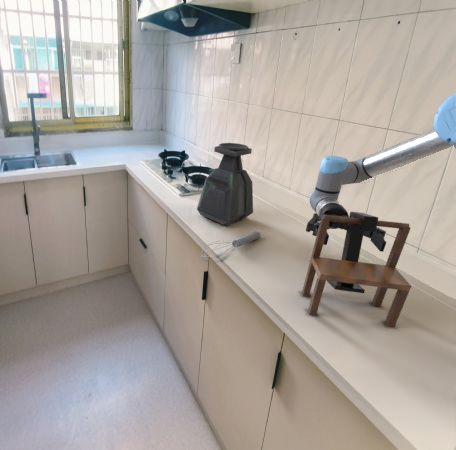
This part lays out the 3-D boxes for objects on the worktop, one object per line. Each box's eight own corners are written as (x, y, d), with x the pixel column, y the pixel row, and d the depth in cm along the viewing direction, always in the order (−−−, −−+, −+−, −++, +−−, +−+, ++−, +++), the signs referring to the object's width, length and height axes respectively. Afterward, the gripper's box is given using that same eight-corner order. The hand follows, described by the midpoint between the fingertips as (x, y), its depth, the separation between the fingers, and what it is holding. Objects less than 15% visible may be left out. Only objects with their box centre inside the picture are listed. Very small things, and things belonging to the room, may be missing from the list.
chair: (378, 303, 91) (408, 222, 81) (394, 327, 82) (430, 240, 72) (301, 292, 94) (322, 213, 84) (309, 314, 85) (333, 229, 75)
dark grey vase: (226, 229, 131) (236, 152, 118) (195, 216, 142) (201, 144, 130) (252, 218, 142) (265, 147, 129) (222, 207, 153) (230, 140, 141)
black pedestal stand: (326, 281, 94) (339, 209, 90) (353, 284, 93) (367, 212, 89) (340, 295, 83) (355, 215, 80) (371, 299, 82) (387, 218, 78)
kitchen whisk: (267, 238, 124) (270, 223, 122) (211, 270, 103) (213, 252, 100) (252, 233, 128) (255, 218, 126) (195, 263, 107) (197, 245, 104)
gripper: (371, 229, 105) (402, 262, 86) (287, 220, 109) (300, 250, 90) (378, 206, 102) (413, 236, 83) (292, 198, 106) (306, 224, 87)
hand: (354, 243), depth 87 cm, fingers open, 13 cm apart
